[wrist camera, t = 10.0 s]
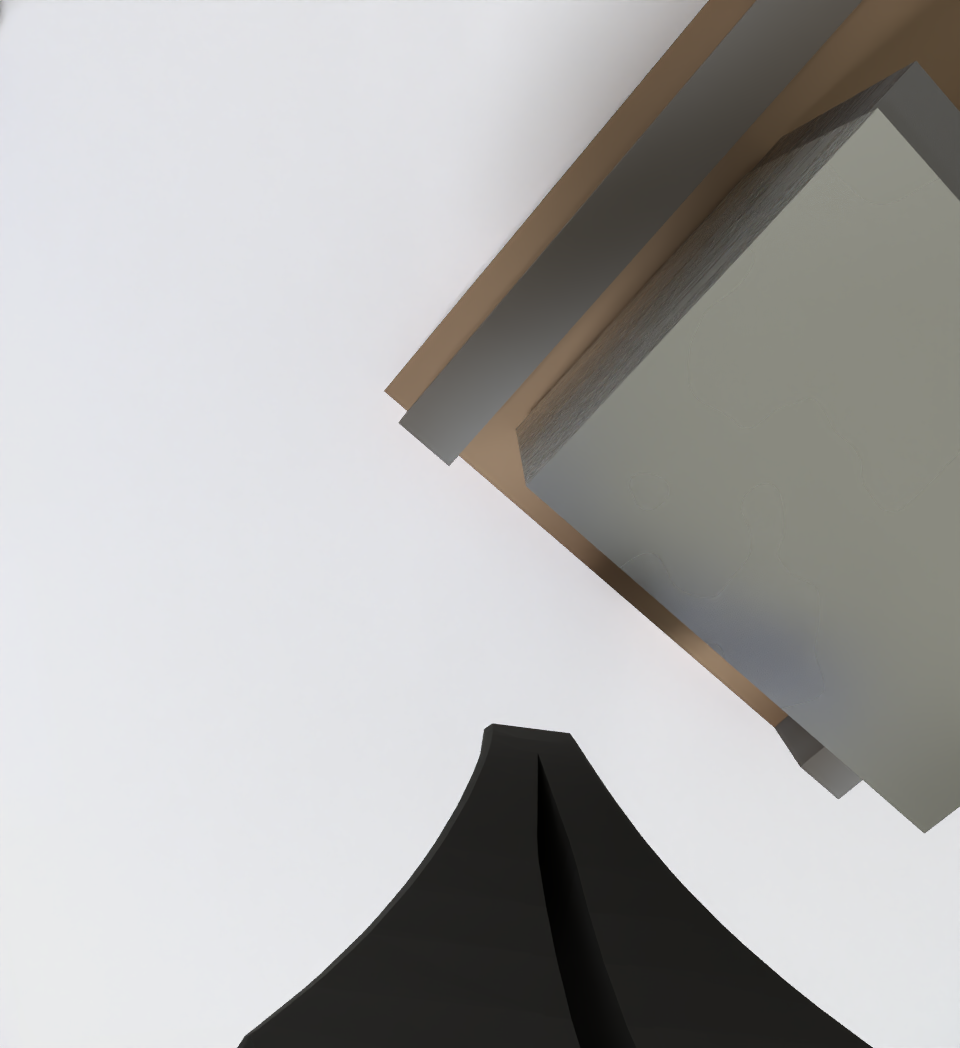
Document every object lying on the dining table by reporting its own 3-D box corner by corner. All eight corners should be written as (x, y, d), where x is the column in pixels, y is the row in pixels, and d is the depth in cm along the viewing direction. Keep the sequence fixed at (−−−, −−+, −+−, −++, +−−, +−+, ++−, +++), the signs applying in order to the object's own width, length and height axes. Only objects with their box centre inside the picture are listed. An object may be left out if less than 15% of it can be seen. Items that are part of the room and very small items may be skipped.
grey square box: (515, 428, 12) (525, 486, 8) (776, 139, 10) (928, 53, 7) (803, 684, 13) (924, 833, 9) (1067, 455, 12) (1326, 525, 8)
